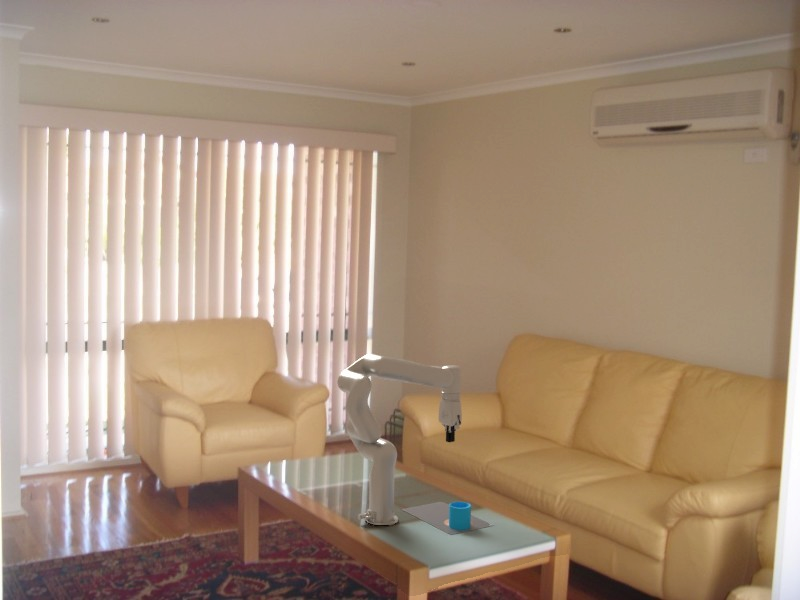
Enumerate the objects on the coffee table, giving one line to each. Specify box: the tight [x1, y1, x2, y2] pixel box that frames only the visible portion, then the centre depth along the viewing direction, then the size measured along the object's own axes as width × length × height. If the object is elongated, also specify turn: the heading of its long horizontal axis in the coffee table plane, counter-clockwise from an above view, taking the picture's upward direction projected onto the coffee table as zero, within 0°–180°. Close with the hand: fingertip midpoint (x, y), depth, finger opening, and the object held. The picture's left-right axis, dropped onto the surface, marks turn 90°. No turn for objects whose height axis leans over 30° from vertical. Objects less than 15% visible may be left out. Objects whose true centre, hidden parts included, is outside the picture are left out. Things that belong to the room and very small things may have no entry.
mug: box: [449, 501, 472, 530], centre depth 325 cm, size 12×8×8 cm
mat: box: [400, 500, 491, 536], centre depth 334 cm, size 20×34×1 cm, turn 33°
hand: (450, 441), depth 344 cm, fingers closed
